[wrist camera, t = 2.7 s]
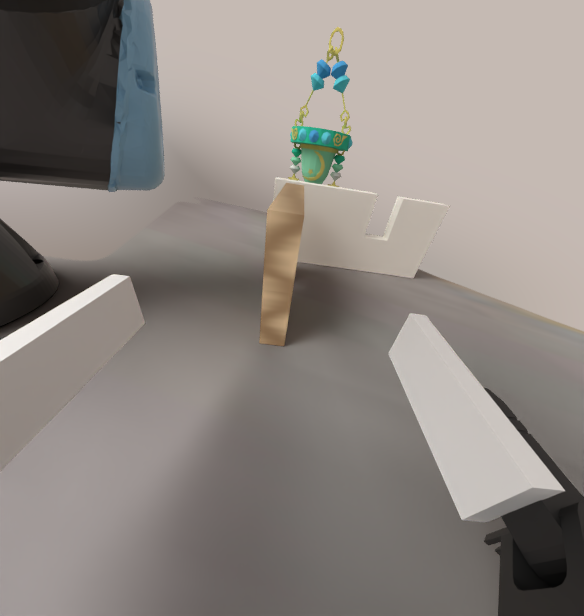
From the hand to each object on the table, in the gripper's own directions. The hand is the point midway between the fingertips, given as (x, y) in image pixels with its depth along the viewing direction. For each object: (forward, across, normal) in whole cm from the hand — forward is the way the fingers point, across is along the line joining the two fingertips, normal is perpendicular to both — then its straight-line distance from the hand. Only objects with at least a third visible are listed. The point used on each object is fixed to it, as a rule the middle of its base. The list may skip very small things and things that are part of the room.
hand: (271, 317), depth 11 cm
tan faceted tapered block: (+16, 0, -8) cm, 18 cm away
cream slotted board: (+29, +10, -8) cm, 31 cm away
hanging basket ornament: (+38, +3, -8) cm, 39 cm away
